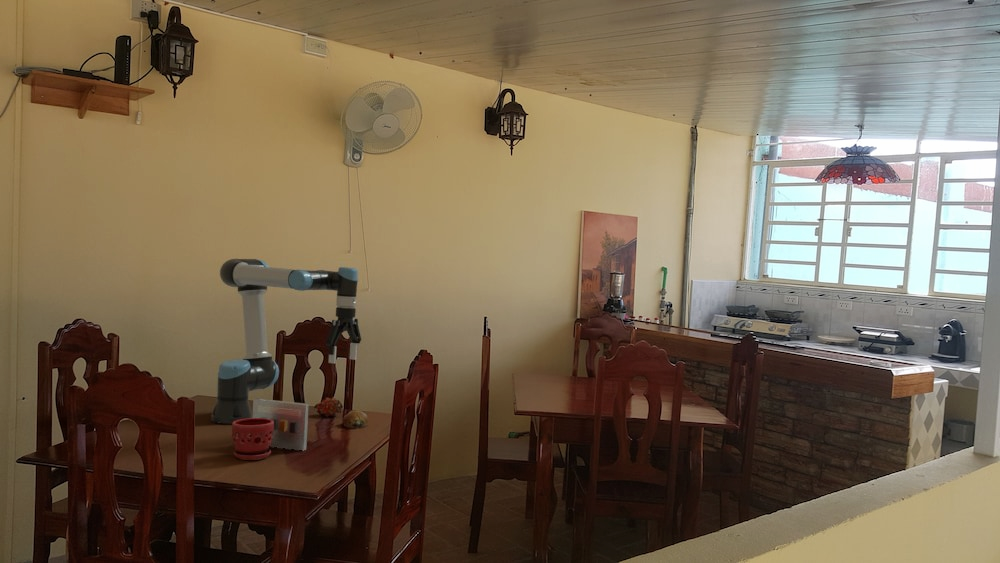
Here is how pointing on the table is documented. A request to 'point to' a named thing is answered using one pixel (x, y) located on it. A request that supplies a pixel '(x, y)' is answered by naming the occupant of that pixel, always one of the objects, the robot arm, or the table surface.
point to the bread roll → (355, 419)
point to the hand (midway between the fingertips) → (342, 361)
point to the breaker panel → (284, 422)
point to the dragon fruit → (329, 407)
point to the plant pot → (252, 438)
